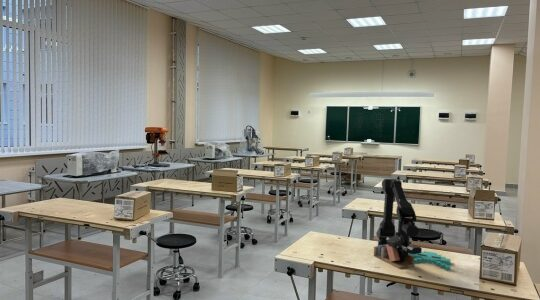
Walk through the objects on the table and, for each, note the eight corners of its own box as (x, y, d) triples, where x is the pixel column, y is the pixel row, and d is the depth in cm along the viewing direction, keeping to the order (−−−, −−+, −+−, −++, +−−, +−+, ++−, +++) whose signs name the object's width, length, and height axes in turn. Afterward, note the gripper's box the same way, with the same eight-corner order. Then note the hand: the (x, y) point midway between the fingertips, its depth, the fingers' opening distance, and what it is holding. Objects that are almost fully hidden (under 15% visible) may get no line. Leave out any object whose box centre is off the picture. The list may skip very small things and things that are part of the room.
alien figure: (450, 272, 188) (450, 259, 206) (450, 267, 187) (450, 255, 205) (406, 264, 196) (410, 252, 214) (406, 259, 196) (410, 248, 214)
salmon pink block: (400, 260, 197) (396, 244, 200) (406, 259, 194) (402, 242, 197) (390, 261, 194) (386, 245, 197) (395, 260, 191) (391, 244, 194)
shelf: (387, 254, 209) (387, 242, 208) (413, 266, 191) (414, 253, 191) (373, 255, 205) (374, 243, 204) (399, 268, 188) (400, 255, 187)
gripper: (378, 227, 196) (376, 257, 197) (405, 238, 179) (403, 271, 180) (395, 225, 200) (393, 255, 202) (423, 235, 183) (421, 268, 185)
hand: (402, 262), depth 192 cm, fingers closed
